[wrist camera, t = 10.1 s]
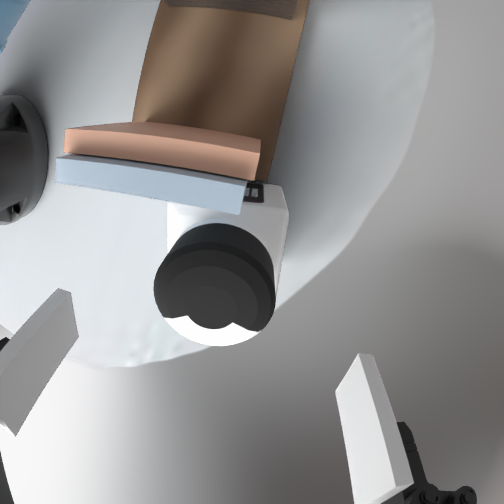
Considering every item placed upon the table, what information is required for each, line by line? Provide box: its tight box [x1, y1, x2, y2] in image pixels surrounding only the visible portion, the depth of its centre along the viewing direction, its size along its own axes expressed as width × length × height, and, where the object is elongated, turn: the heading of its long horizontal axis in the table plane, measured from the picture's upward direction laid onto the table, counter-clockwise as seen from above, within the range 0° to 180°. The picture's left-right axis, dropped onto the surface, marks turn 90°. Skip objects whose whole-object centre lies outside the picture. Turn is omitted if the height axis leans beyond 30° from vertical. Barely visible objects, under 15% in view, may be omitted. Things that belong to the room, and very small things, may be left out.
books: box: [55, 122, 261, 215], centre depth 16 cm, size 10×2×12 cm, turn 78°
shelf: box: [132, 0, 309, 182], centre depth 19 cm, size 12×21×2 cm, turn 168°
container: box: [154, 182, 289, 346], centre depth 20 cm, size 8×8×13 cm
